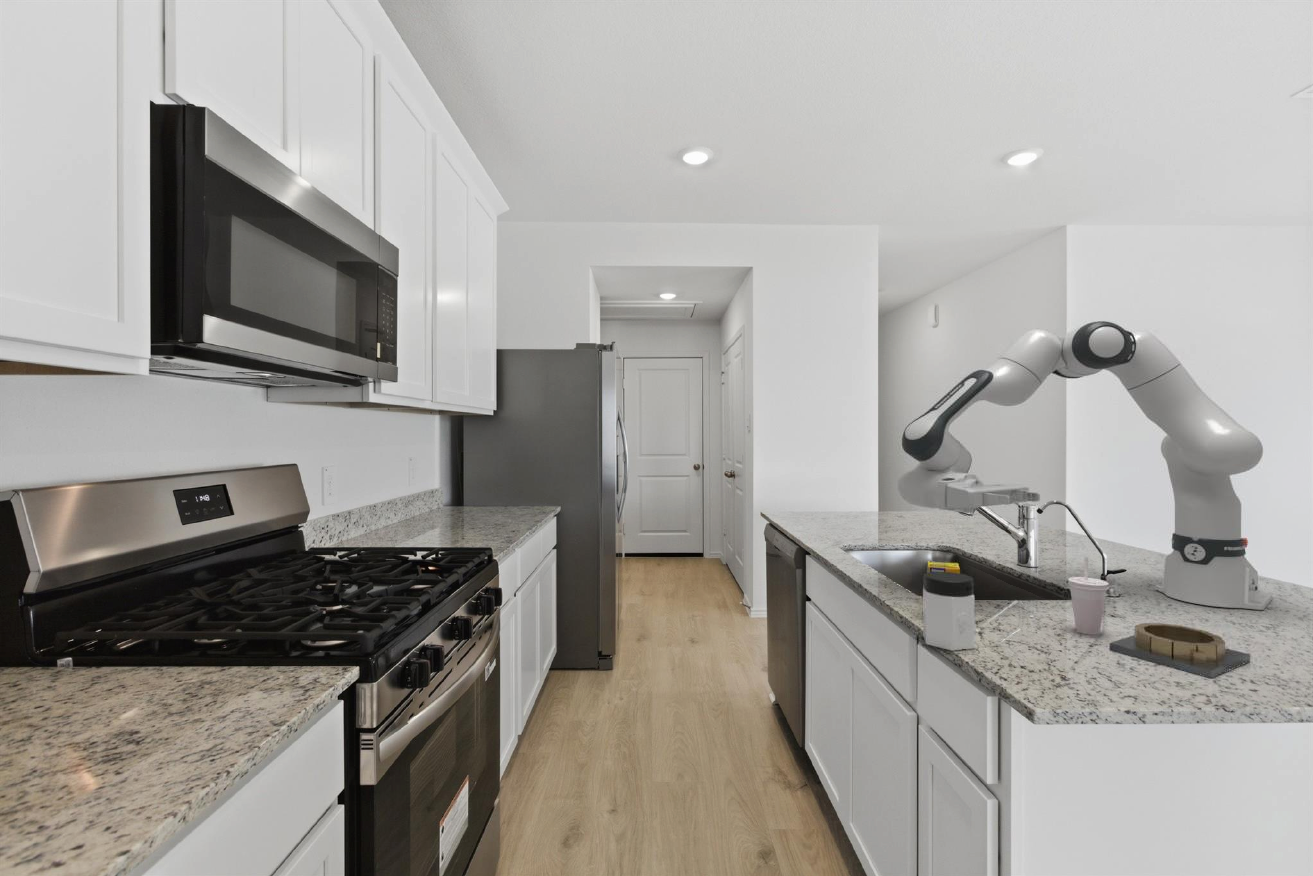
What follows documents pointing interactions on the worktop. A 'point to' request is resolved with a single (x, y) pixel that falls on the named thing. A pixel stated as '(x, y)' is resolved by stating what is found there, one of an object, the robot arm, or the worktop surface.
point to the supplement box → (942, 567)
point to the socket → (1180, 648)
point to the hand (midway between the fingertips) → (1024, 498)
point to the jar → (948, 610)
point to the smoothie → (1088, 602)
